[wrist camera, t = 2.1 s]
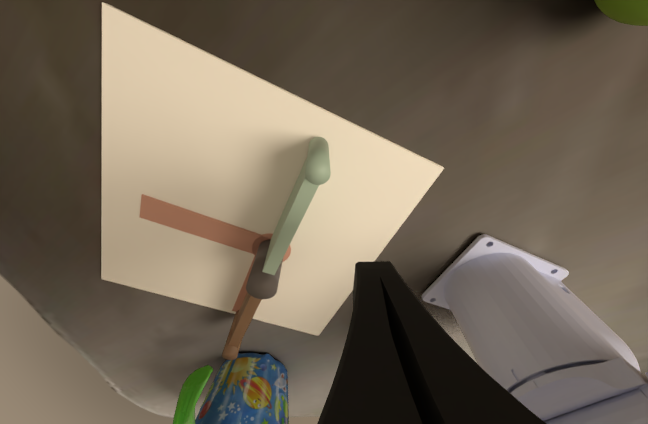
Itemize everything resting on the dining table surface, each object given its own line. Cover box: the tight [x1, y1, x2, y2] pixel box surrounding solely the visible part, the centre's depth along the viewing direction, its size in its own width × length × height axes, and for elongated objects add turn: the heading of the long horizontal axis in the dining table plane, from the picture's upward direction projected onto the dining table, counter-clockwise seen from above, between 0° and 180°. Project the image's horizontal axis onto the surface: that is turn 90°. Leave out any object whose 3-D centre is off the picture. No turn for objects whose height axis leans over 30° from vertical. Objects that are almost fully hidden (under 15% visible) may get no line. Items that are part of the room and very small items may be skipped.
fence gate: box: [262, 137, 331, 275], centre depth 15 cm, size 1×8×4 cm, turn 156°
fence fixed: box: [222, 240, 283, 360], centre depth 20 cm, size 2×10×4 cm, turn 156°
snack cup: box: [173, 352, 289, 424], centre depth 25 cm, size 16×10×10 cm
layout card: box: [101, 2, 444, 336], centre depth 19 cm, size 20×20×1 cm
